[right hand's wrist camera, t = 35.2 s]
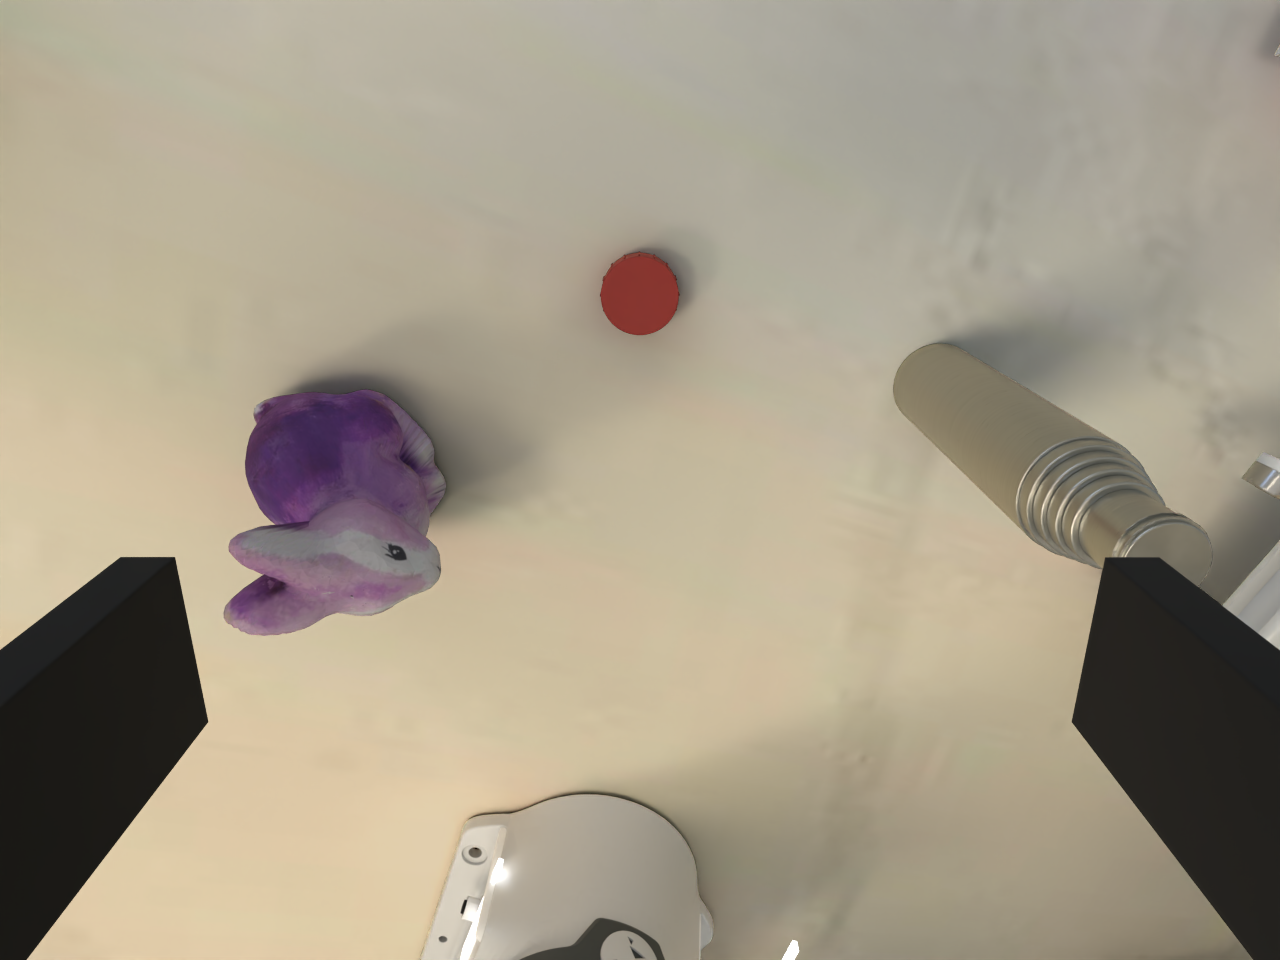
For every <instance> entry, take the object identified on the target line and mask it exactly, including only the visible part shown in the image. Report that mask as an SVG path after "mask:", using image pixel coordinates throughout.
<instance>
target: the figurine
mask: <svg viewBox="0 0 1280 960" xmlns="http://www.w3.org/2000/svg"><path fill="white" fill-rule="evenodd" d="M254 418H255V421H256V423H257V425H256V426H255V428H254V430H253V431H252V433H251V435H250V438H249V442H248V446H247V452H246V460H245V470H246V477H247V481H248V484H249V487H250V489H251V491H252V493H253V495H254V498H255V500H256V502H257V504H258V506H259V508H260V509H261V511H262V512H263V513H264V515H266V516H267V517H268V518H269V519H270V520H271V521H272V522H273V523H274V524H275V525H270V526H261V527H257V528H254V529H251V530H248V531H246V532H243V533H240V534H238V535H237V536H235V537H234V538H233V539H232V540H230V543H229V552H230V553H231V554H232V555H233V557H234V558H235V559H236V560H237V561H238V562H240V563H241V564H242V565H244V566H246V567H247V568H249V569H252V570H254V571H256V572H259V573H261V574H264V575H262V576H261V577H260V578H258V579H257V580H255V581H254V582H252V583H251V584H249V585H248V586H246V587H245V588H244V589H242V590H241V591H240V592H239V593H238V594H237V595H236V596H234V597H233V598H232V599H231V600H230V601H229V603H228V604H227V605H226V606H225V610H224V619H225V621H226V622H227V623H228V624H231V625H232V626H233V627H234V628H239V630H240V631H242V632H246V633H247V634H250V635H263V636H266V635H279V634H282V633H291V632H294V631H298V630H301V629H304V628H307V627H309V626H311V625H312V624H314V623H316V622H317V621H319V620H321V619H322V618H324V617H326V616H328V615H331V614H334V613H342V614H349V615H358V616H369V615H374V614H378V613H381V612H383V611H385V610H387V609H389V608H391V607H393V606H394V605H395V604H397V603H399V602H400V601H402V600H404V599H406V598H408V597H410V596H412V595H415V594H417V593H420V592H423V591H426V590H428V589H430V588H431V587H432V586H433V585H434V584H435V583H436V582H437V581H438V579H439V577H440V573H441V565H440V554H439V552H438V550H437V548H436V546H435V545H434V544H433V543H432V542H431V541H430V540H428V539H427V538H426V535H427V532H428V527H429V518H430V516H431V512H433V509H435V508H436V506H437V505H438V502H440V501H441V498H443V495H444V493H445V489H446V482H445V478H444V476H443V475H442V474H441V472H440V470H439V469H438V468H437V467H436V465H435V463H434V454H435V453H434V447H433V445H432V442H431V439H430V438H429V437H428V436H427V434H426V433H425V432H424V430H423V429H422V428H421V427H419V426H418V424H417V422H416V421H414V420H413V419H412V418H411V417H410V416H409V415H408V413H407V412H406V411H405V410H404V409H402V408H400V407H399V406H398V405H397V404H396V403H395V402H393V401H392V399H390V398H389V397H387V396H386V395H385V394H382V393H379V392H376V391H372V390H366V389H364V390H358V391H355V392H351V393H347V394H337V395H335V394H327V393H319V392H306V393H299V394H292V395H284V396H278V397H273V398H270V399H267V400H264V401H263V402H261V403H260V404H258V405H257V406H256V407H255V409H254Z"/></svg>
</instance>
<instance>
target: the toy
mask: <svg viewBox="0 0 1280 960" xmlns="http://www.w3.org/2000/svg"><path fill="white" fill-rule="evenodd" d="M1274 56H1277V57H1280V44H1279V46H1278V48H1277V50H1276V52H1275V54H1274Z"/></svg>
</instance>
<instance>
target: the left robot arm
mask: <svg viewBox="0 0 1280 960" xmlns="http://www.w3.org/2000/svg"><path fill="white" fill-rule="evenodd" d="M1242 479H1244V480H1245V481H1247V482H1249V483H1251V484H1252V485H1254V486H1255V487H1257V488H1258V489H1260V490H1262V491H1263V492H1265V493H1267V494H1269V495H1271V496H1272V497H1274V498H1277V499H1279V500H1280V459H1278V458H1276V457H1274V456H1271V455H1269V454H1267V453H1265V452H1262V453H1261V455H1260V456H1259V457H1258V458H1257V459H1256V461H1255V462H1254V463H1253V464H1252V466H1251V467H1250V468H1249V469H1248V471H1247V472H1246V473H1245V474H1244V476H1243V477H1242ZM1222 606H1223V607H1225V608H1226V609H1227V610H1228V611H1230V612H1231V613H1232V614H1234V615H1235V616H1236V617H1238V618H1239V619H1240V620H1241V621H1243V622H1244V623H1245V624H1247V625H1248V626H1249V627H1251V628H1252V629H1253V630H1254V631H1256V632H1257V633H1258V634H1260V635H1261V636H1262V637H1263V638H1265V639H1266V640H1267V641H1269V642H1270V643H1271V644H1273V645H1274V646H1275V647H1276V648H1278V649H1279V650H1280V540H1279V541H1278V543H1277V544H1276V545H1275V546H1274V547H1273V548H1272V549H1271V551H1270V552H1269V553H1268V554H1267V555H1266V556H1265V557H1264V559H1263V560H1262V561H1261V562H1260V563H1259V564H1258V565H1257V566H1256V568H1255V569H1254V570H1253V571H1252V572H1251V573H1250V574H1249V576H1248V577H1247V578H1246V579H1245V580H1244V581H1243V582H1242V583H1241V585H1240V586H1239V587H1238V588H1237V589H1236V590H1235V591H1234V593H1233V594H1232V595H1231V596H1230V597H1229V598H1228V599H1227V600H1226V602H1225V603H1224V604H1223V605H1222ZM474 847H475V848H479V850H476V849H473V848H474ZM713 926H714V924H713V919H712V916H711V914H710V912H709V910H708V909H707V907H706V906H705V904H704V903H703V901H702V900H701V898H700V896H699V892H698V882H697V869H696V864H695V860H694V857H693V855H692V852H691V850H690V848H689V846H688V844H687V843H686V841H685V840H684V838H683V837H682V836H681V834H680V833H679V832H678V831H677V830H676V829H675V828H674V827H673V826H672V825H671V824H670V823H669V822H668V821H667V820H665V819H664V818H663V817H661V816H660V815H658V814H657V813H655V812H653V811H652V810H650V809H648V808H646V807H644V806H642V805H639V804H637V803H634V802H632V801H629V800H625V799H622V798H617V797H613V796H606V795H596V794H579V795H569V796H563V797H558V798H554V799H550V800H547V801H544V802H541V803H539V804H536V805H534V806H531V807H529V808H527V809H524V810H521V811H518V812H515V813H511V814H489V815H481V816H476V817H473V818H471V819H469V820H468V821H467V822H466V823H465V824H464V826H463V828H462V831H461V834H460V837H459V841H458V844H457V847H456V850H455V853H454V856H453V859H452V862H451V865H450V868H449V871H448V874H447V877H446V880H445V883H444V886H443V889H442V892H441V895H440V899H439V902H438V905H437V908H436V911H435V914H434V917H433V920H432V923H431V926H430V929H429V932H428V935H427V938H426V941H425V944H424V947H423V950H422V954H421V957H420V960H700V957H701V950H702V949H703V948H704V947H705V946H707V945H708V944H709V943H710V942H711V940H712V938H713ZM798 952H799V949H798V944H797V941H794V940H793V941H792V942H791V944H790V946H789V948H788V950H787V952H786V953H785V955H784V957H783V959H782V960H794V959H795V957H796V955H797V953H798Z"/></svg>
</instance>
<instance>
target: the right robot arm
mask: <svg viewBox="0 0 1280 960" xmlns="http://www.w3.org/2000/svg"><path fill="white" fill-rule="evenodd" d="M207 723H208V718H207V713H206V708H205V703H204V698H203V693H202V689H201V684H200V679H199V674H198V669H197V664H196V659H195V654H194V649H193V644H192V639H191V634H190V629H189V624H188V619H187V614H186V609H185V605H184V600H183V595H182V590H181V585H180V580H179V575H178V570H177V565H176V560H175V557H120V558H119V559H118V560H116V561H115V562H114V563H113V564H111V565H110V566H109V567H107V568H106V569H105V570H103V571H102V572H101V573H100V574H98V575H97V576H96V577H94V578H93V579H92V580H90V581H89V582H88V583H87V584H85V585H84V586H83V587H81V588H80V589H79V590H77V591H76V592H75V593H74V594H72V595H71V596H70V597H68V598H67V599H66V600H65V601H63V602H62V603H61V604H59V605H58V606H57V607H55V608H54V609H53V610H52V611H50V612H49V613H48V614H46V615H45V616H44V617H42V618H41V619H40V620H39V621H37V622H36V623H35V624H33V625H32V626H31V627H29V628H28V629H27V630H26V631H24V632H23V633H22V634H20V635H19V636H18V637H17V638H15V639H14V640H13V641H11V642H10V643H9V644H7V645H6V646H5V647H4V648H2V649H1V650H0V960H27V958H28V957H29V956H30V954H31V953H32V952H33V951H34V949H35V948H36V947H37V945H38V944H39V943H40V941H41V940H42V939H43V937H44V936H45V935H46V934H47V932H48V931H49V930H50V928H51V927H52V926H53V924H54V923H55V922H56V920H57V919H58V918H59V917H60V915H61V914H62V913H63V911H64V910H65V909H66V907H67V906H68V905H69V903H70V902H71V901H72V900H73V898H74V897H75V896H76V894H77V893H78V892H79V890H80V889H81V888H82V886H83V885H84V884H85V882H86V881H87V880H88V879H89V877H90V876H91V875H92V873H93V872H94V871H95V869H96V868H97V867H98V865H99V864H100V863H101V862H102V860H103V859H104V858H105V856H106V855H107V854H108V852H109V851H110V850H111V848H112V847H113V846H114V845H115V843H116V842H117V841H118V839H119V838H120V837H121V835H122V834H123V833H124V831H125V830H126V829H127V828H128V826H129V825H130V824H131V822H132V821H133V820H134V818H135V817H136V816H137V814H138V813H139V812H140V811H141V809H142V808H143V807H144V805H145V804H146V803H147V801H148V800H149V799H150V797H151V796H152V795H153V794H154V792H155V791H156V790H157V788H158V787H159V786H160V784H161V783H162V782H163V780H164V779H165V778H166V777H167V775H168V774H169V773H170V771H171V770H172V769H173V767H174V766H175V765H176V763H177V762H178V761H179V759H180V758H181V757H182V756H183V754H184V753H185V752H186V750H187V749H188V748H189V746H190V745H191V744H192V742H193V741H194V740H195V739H196V737H197V736H198V735H199V733H200V732H201V731H202V729H203V728H204V727H205V725H206V724H207ZM1072 723H1073V724H1074V725H1075V727H1076V728H1077V729H1078V731H1079V732H1080V733H1081V735H1082V736H1083V737H1084V739H1085V740H1086V741H1087V742H1088V744H1089V745H1090V746H1091V748H1092V749H1093V750H1094V752H1095V753H1096V754H1097V756H1098V757H1099V758H1100V759H1101V761H1102V762H1103V763H1104V765H1105V766H1106V767H1107V769H1108V770H1109V771H1110V773H1111V774H1112V775H1113V777H1114V778H1115V779H1116V780H1117V782H1118V783H1119V784H1120V786H1121V787H1122V788H1123V790H1124V791H1125V792H1126V794H1127V795H1128V796H1129V797H1130V799H1131V800H1132V801H1133V803H1134V804H1135V805H1136V807H1137V808H1138V809H1139V811H1140V812H1141V813H1142V814H1143V816H1144V817H1145V818H1146V820H1147V821H1148V822H1149V824H1150V825H1151V826H1152V828H1153V829H1154V830H1155V831H1156V833H1157V834H1158V835H1159V837H1160V838H1161V839H1162V841H1163V842H1164V843H1165V845H1166V846H1167V847H1168V848H1169V850H1170V851H1171V852H1172V854H1173V855H1174V856H1175V858H1176V859H1177V860H1178V862H1179V863H1180V864H1181V865H1182V867H1183V868H1184V869H1185V871H1186V872H1187V873H1188V875H1189V876H1190V877H1191V879H1192V880H1193V881H1194V883H1195V884H1196V885H1197V886H1198V888H1199V889H1200V890H1201V892H1202V893H1203V894H1204V896H1205V897H1206V898H1207V900H1208V901H1209V902H1210V903H1211V905H1212V906H1213V907H1214V909H1215V910H1216V911H1217V913H1218V914H1219V915H1220V917H1221V918H1222V919H1223V920H1224V922H1225V923H1226V924H1227V926H1228V927H1229V928H1230V930H1231V931H1232V932H1233V934H1234V935H1235V936H1236V937H1237V939H1238V940H1239V941H1240V943H1241V944H1242V945H1243V947H1244V948H1245V949H1246V951H1247V952H1248V953H1249V954H1250V956H1251V957H1252V958H1253V960H1280V650H1279V649H1278V648H1276V647H1275V646H1274V645H1273V644H1271V643H1270V642H1269V641H1267V640H1266V639H1265V638H1263V637H1262V636H1261V635H1260V634H1258V633H1257V632H1256V631H1254V630H1253V629H1252V628H1251V627H1249V626H1248V625H1247V624H1245V623H1244V622H1243V621H1241V620H1240V619H1239V618H1238V617H1236V616H1235V615H1234V614H1232V613H1231V612H1230V611H1228V610H1227V609H1226V608H1225V607H1223V606H1222V605H1221V604H1219V603H1218V602H1217V601H1215V600H1214V599H1213V598H1212V597H1210V596H1209V595H1208V594H1206V593H1205V592H1204V591H1203V590H1201V589H1200V588H1199V587H1197V586H1196V585H1195V584H1193V583H1192V582H1191V581H1190V580H1188V579H1187V578H1186V577H1184V576H1183V575H1182V574H1180V573H1179V572H1178V571H1177V570H1175V569H1174V568H1173V567H1171V566H1170V565H1169V564H1167V563H1166V562H1165V561H1164V560H1162V559H1161V558H1160V557H1105V560H1104V565H1103V570H1102V575H1101V580H1100V585H1099V590H1098V595H1097V600H1096V605H1095V609H1094V614H1093V619H1092V624H1091V629H1090V634H1089V639H1088V644H1087V649H1086V654H1085V659H1084V664H1083V669H1082V674H1081V679H1080V684H1079V689H1078V693H1077V698H1076V703H1075V708H1074V713H1073V718H1072Z"/></svg>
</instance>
